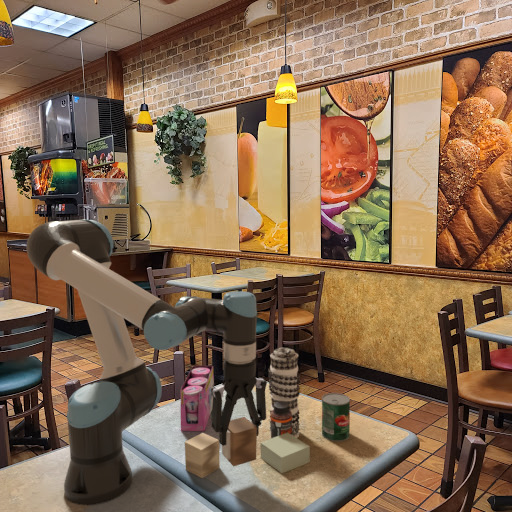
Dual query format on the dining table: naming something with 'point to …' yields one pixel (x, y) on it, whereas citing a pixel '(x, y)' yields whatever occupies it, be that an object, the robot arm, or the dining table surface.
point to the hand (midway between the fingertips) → (239, 452)
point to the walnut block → (242, 441)
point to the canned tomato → (335, 417)
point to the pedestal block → (285, 452)
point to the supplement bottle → (281, 419)
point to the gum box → (197, 398)
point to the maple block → (202, 455)
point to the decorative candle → (285, 383)
